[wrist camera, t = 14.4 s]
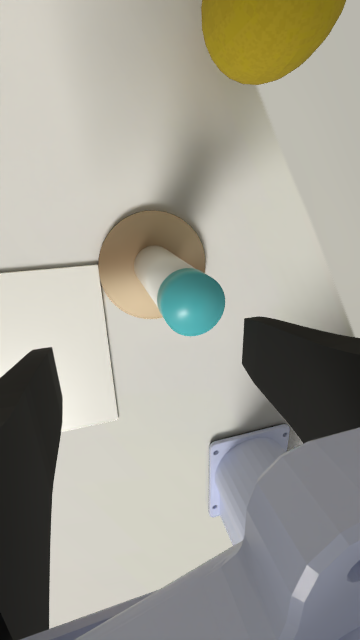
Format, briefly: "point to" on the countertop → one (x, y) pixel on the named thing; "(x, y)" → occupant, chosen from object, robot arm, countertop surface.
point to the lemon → (265, 35)
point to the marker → (180, 291)
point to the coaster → (125, 248)
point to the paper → (61, 336)
